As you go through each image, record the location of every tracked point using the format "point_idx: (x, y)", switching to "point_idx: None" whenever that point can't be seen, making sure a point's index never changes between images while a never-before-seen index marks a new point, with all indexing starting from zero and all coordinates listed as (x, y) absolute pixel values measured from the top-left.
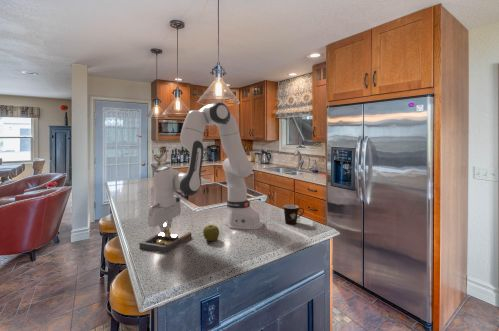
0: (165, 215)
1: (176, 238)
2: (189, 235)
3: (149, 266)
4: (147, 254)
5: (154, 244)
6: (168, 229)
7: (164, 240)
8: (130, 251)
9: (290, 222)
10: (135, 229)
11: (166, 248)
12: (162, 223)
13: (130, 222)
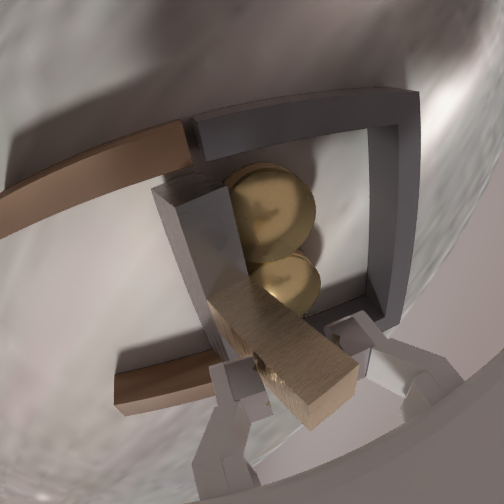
0: (487, 492)
1: (199, 187)
2: (15, 187)
3: (495, 76)
4: (431, 192)
5: (403, 231)
6: (266, 338)
7: (269, 270)
8: (417, 296)
9: None
10: None
11: (412, 91)
12: (450, 381)
13: (183, 495)
